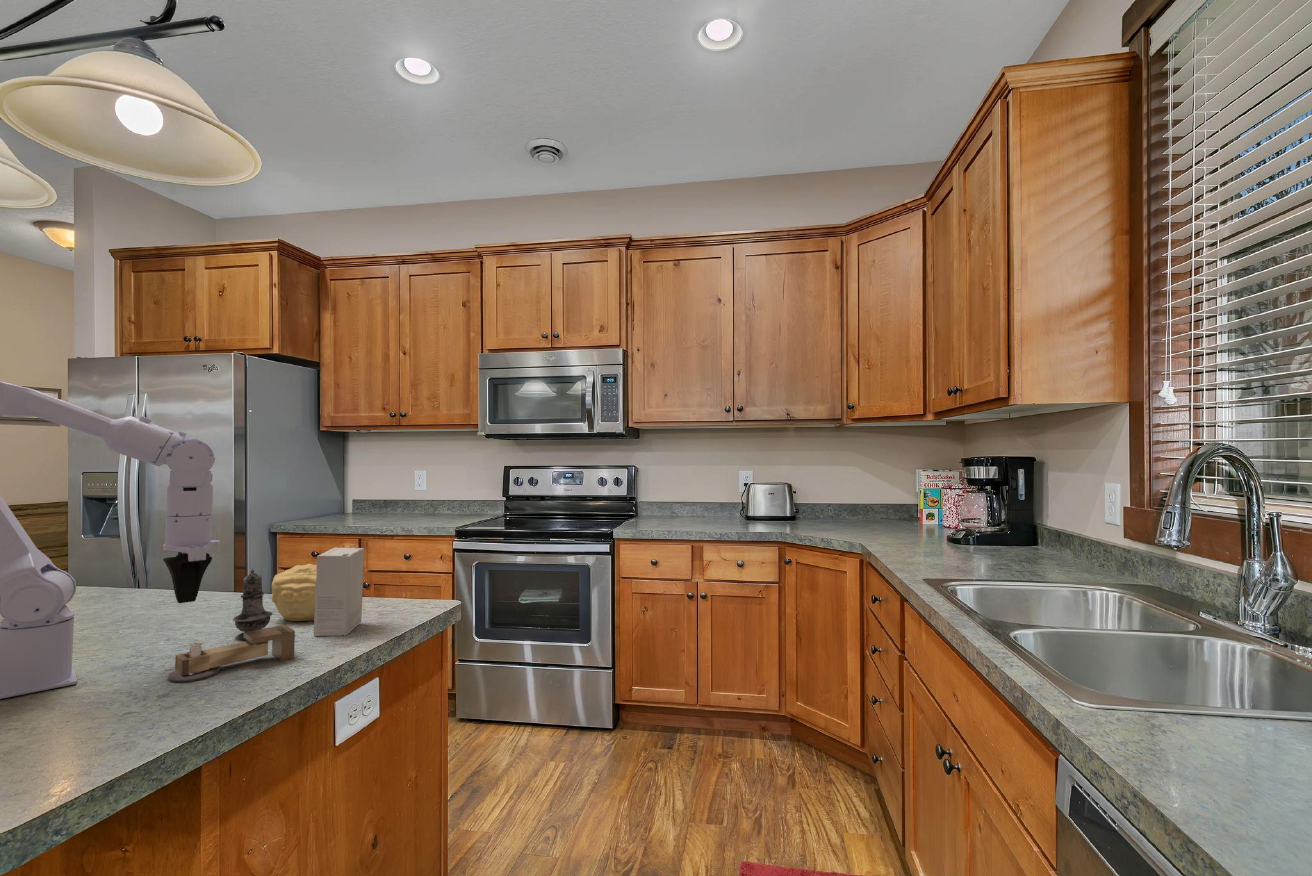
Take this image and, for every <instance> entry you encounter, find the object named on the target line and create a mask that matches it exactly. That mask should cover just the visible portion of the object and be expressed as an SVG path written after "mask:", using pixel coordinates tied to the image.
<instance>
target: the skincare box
mask: <svg viewBox="0 0 1312 876" xmlns="http://www.w3.org/2000/svg"><path fill="white" fill-rule="evenodd" d="M364 559H365V548H363V547H333V548H331V549H329V550H326V551H325V552H323V553H320V554H319V555H317V556H316V565H317V575H316V592H315V615H314V620H313V636H315V637H326V636H327V637H333V636H334V637H335V636H336V637H338V636H339V637H340V636H342V635H344V636H348V635H349V634H350V633H351V632H352V631H353V630H354V629H355V628H356V627H358V626H359V625H360V624H361V623H362V614H363V593H364V591H363V589H364V567H365V565H364V564H365V563H364V561H365V560H364Z"/></svg>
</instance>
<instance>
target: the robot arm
mask: <svg viewBox="0 0 1312 876" xmlns="http://www.w3.org/2000/svg"><path fill="white" fill-rule="evenodd" d="M2 417H8V418H14V419H17V418H19V419H20V418H33V417H34V418H37V419H41V420H45V421H48V422H51V423H54V424H57V425H60V426H64V427H67V428H70V429H73V430H77V431H78V432H82V433H85V434H90V435H91V436H95V437H98V438H101V439H103V441H104V444H105V445H106V447H107V449H108V451H110V452H112V453H113V452H114V453H117V454H119V455H123V456H126V457H129V458H131V459H134V460H137V461H142V462H144V463H147V464H150V465H154V466H156V467H161V466H163V465H167V467H168V468H169V470H170V471H169V482H168V483H169V484H168V486H167V487H166V505H165V506H166V508H165V511H166V512H165V533H164V534H165V535H164V543H163V544H162V545H163V546H162V548H163V549H162V550H163V551H167V552H177V555H175V556H169V557H164V558H163V559H162V560H163V562H164V564H165V565H166V567H167V569H168V572H169V573H170V576H171V581H172V585H173V590H174V591H173V592H174V594H175V595H174V596H175V599H176V602H177V603H178V604H183V603H184V604H186V603H193V602H195V601H196V599H197V597H198V596H199V595H198V594H199V591H200V586H201V583H202V580H203V577H204V574H205V572H206V571H207V569H208V566H209V565H210V564H211V563H212V560H213V557H212V556H210V555H211V554H210V553H208V552H207V550H209V549H211V548H212V547H215V546H216V547H217V546H220V545H221V541H220V540H218V539H213V540H212V529H213V528H212V527H213V526H212V523H213V522H212V521H213V499H214V498H213V497H214V486H213V484H212V481H213V477H214V475H213V473H212V470H211V469H212V467H213V465H214V464H215V462H216V457H215V455H214V454H215V453H214V451H213V449H212V448H211V447H210V446H209V444H207V443H205V442H203V441H202V440H199V439H196V438H188V439H186V437H187V435H188V433H186V432H185V431H182V430H179V431H178V432H176V431H174V430H170V429H167V428H165V427H162V426H160V425H156V424H154V423H151V422H152V418H149V417H146V416H143V415H141V416H140V417H139V418H138V417H135V416H132V415H130V416H129V415H128V416H125V417H121V418H117V419H114V418H113V419H112V418H110V417H108V416H105V415H101V414H99V413H97V412H94V411H92V410H89V409H86V408H83V407H81V406H78V405H75V404H72V403H71V402H67V401H65V400H63V399H59V398H57V397H54V396H51V395H49V394H47V393H44V392H41V391H38V390H36V389H32V388H29V387H24V386H21V385H17V384H14V383H8V382H4V381H0V419H1V418H2ZM76 591H77V581H76V580H75V578H74V577H73V575H71V574H70V573H69V572H67V571H65V570H62V569H61V568H58V567H57V566H56V565H55V564H54V563H53V561H52V560H51V559H50V557H49V556H47V555H46V554H44V552H43V551H41V550H40V549H38V547H37V546H36V544H35V543H34V542H33V541H32V539H31V537H30V535H28V533H27V532H26V530H25V529H24V527H23V526H22V524H21V523H20V521H19V520H18V518H17V517H16V516H15V514H14V513H13V511H12V510H11V508H10V507H9V505H8V504H7V503H6V501H5V500H4V498H3V496H2V495H1V494H0V616H1V618H2V620H1V621H0V700H2V699H7V698H11V697H16V696H22V695H28V694H33V693H36V692H37V693H38V692H42V691H47V690H51V689H57V688H62V687H67V686H73V685H76V684H77V683H78V679H77V674H76V672H75V668H74V667H73V652H74V632H75V631H74V630H75V629H74V627H75V612H73V611H72V610H71V609H70V608H69V607H68V605H67V604H68V603H69V602H70V601H72V599H73V597H74V596H75V594H76Z"/></svg>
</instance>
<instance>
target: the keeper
mask: <svg viewBox="0 0 1312 876" xmlns="http://www.w3.org/2000/svg"><path fill="white" fill-rule="evenodd" d="M295 637H296V631H295V630H294V629H293V628H291V627H290V626H288V625H287V624H283V625H277V626H271V627H264V628H262V629H258V630H253V631H247V632H244V638H245V639H246V640H247V641H249V642H250V643H251V644H255V643H260V642H265V641H268V642H269V641H270V642H271V655H273V657H275V658H276V659H278V660H279V661H280V660H281V661H280V662H283V661H282V660H285V661H289V660H292V659H291V658H294V659H295V644H296V643H295V639H296V638H295ZM288 659H289V660H288Z"/></svg>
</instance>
